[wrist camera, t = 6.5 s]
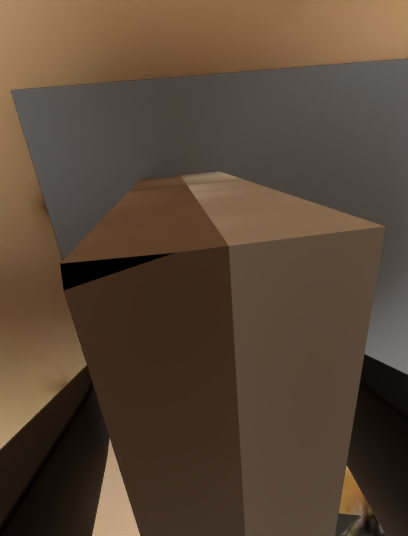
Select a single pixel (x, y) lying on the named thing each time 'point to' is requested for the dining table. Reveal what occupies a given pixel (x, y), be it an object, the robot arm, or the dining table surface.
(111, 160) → the mat
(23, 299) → the dining table surface
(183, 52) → the dining table surface
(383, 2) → the dining table surface
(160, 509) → the tile
